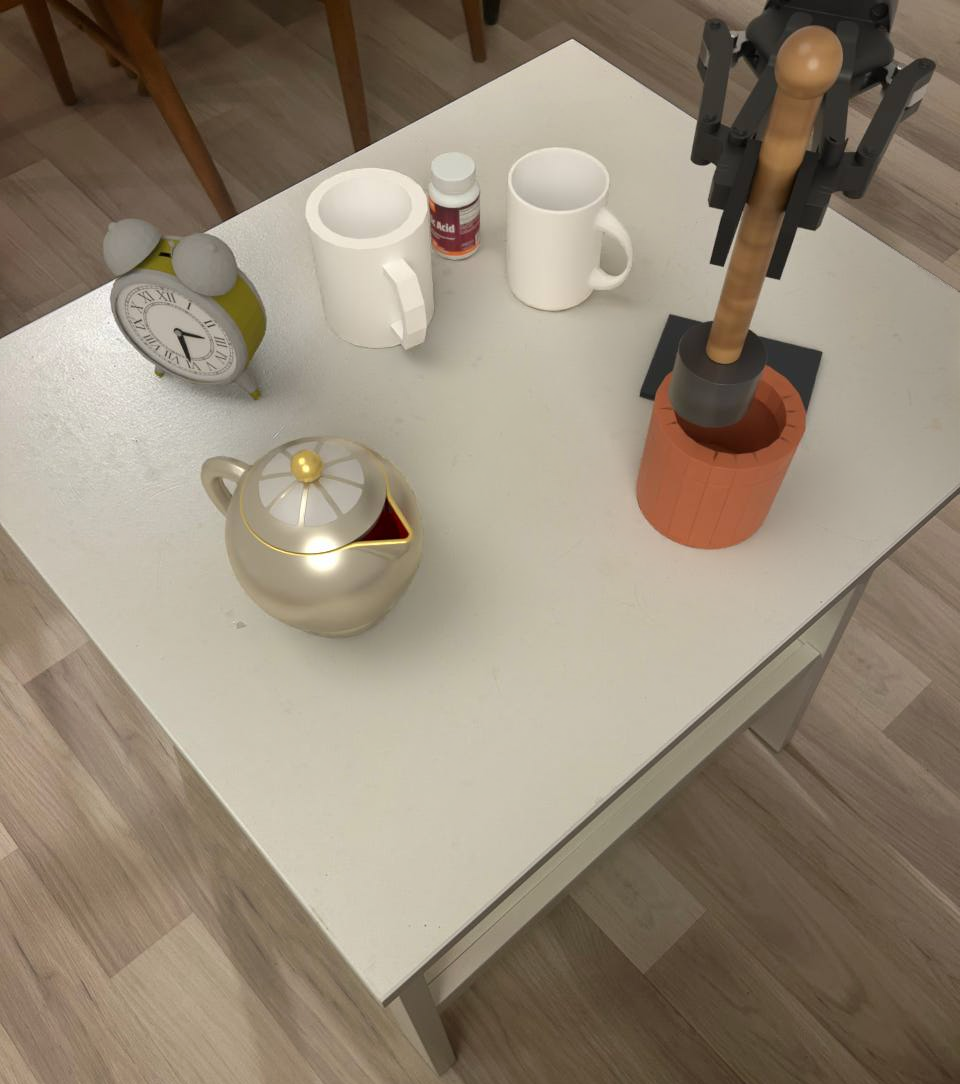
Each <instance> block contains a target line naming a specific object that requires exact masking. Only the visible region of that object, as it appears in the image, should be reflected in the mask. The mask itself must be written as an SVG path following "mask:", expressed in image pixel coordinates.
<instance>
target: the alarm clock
mask: <svg viewBox="0 0 960 1084" xmlns="http://www.w3.org/2000/svg"><path fill="white" fill-rule="evenodd" d="M107 227H108V228H107V229H108V230H107V232H106V234H105V235H104V238H103V242H102V251H103V258H104V261H105V264H106V266H107V268H108V270H110V271H111V273H112V274H113V275H114V276H117V277H116V279H115V281H114V282H113V284H112V287H111V289H110V295H109V302H110V310H111V312H112V315H113V319H114V321H115V324H116V326H117V327H118V329H119V330H120V332H121V333H122V335H123V337H124V338H125V339H126V340H127V342H128V343H129V344H130V345H131V346H132V347H133V348H134V349H135V350H136V351H137V352H138V353H139V354H140V355H141V356H142V357H143V358H144V359H145V360H147V361H148V362H149V363H151V364H152V365H153V366H154V374H155V376H156V377H159V378H160V377H162V376H164V374H165V373H167V374H169V375H171V376H172V377H175V378H176V379H178V380H181V381H184V382H187V383H189V384H194V385H198V386H204V387H219V386H224V385H229V384H230V383H233V382H235V383H236V384H238V385H239V386H240V387H241V388H242V389H243V390H244V391H245V392H246V393H248V395H249V396H251V397H252V398H253V400H258V399H260V398H261V397H262V393H261V391H260V389H259V387H258V386H257V384H256V383H255V380H254V378H253V376H252V375H251V373H250V370H249V369H248V366H249V364H250V363H251V362H252V359H253V358H254V356H255V354H256V353H257V351H258V349H259V347H260V345H261V343H262V342H263V339H264V337H265V334H266V331H267V324H268V323H267V322H268V321H267V312H266V308H265V307H266V306H265V305H264V302H263V300H262V298H261V295H260V293H259V291H258V289H256V286H255V285H254V283H253V282H252V281H251V280H250V278H249V277H248V276H247V274H246V273H245V272H243V270H242V269H241V268H239V266H238V263H237V259H236V256H235V253H234V252H233V250H232V249H231V248H230V247H229V245H228V244H227V243H226V242H225V241H223V240H222V239H220V238H219V237H218V236H215V235H213V234H210V233H205V232H195V233H192V234H190V235H187V236H180V235H162V233H161V231H160V230H159V229H158V228H157V227H156V226H155V225H153V224H152V223H150V222H148V221H146V220H145V219H144V220H143V219H140V218H124V219H120V220H119V221H117V222H116V221H111V222H110V223H109V224H108V226H107Z"/></svg>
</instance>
